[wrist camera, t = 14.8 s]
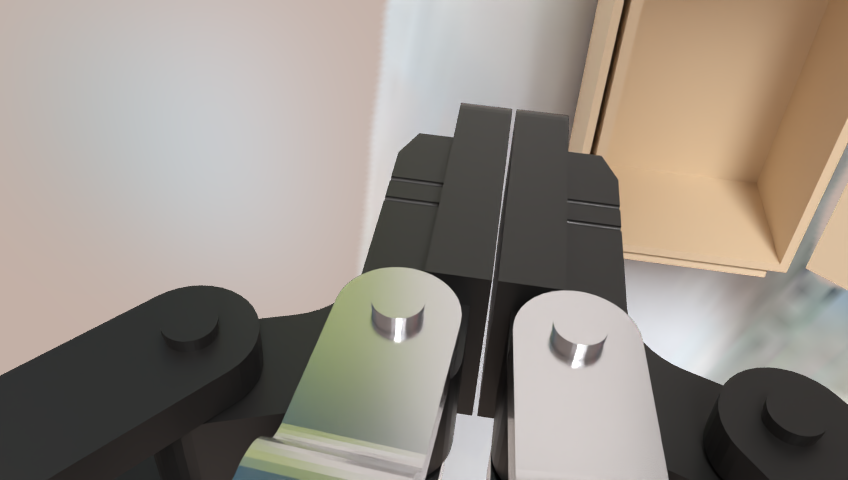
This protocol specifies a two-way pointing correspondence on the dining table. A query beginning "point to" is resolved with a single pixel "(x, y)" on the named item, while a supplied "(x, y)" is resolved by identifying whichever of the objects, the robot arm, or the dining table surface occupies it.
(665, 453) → the robot arm
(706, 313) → the dining table surface
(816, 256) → the flap
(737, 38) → the carton
